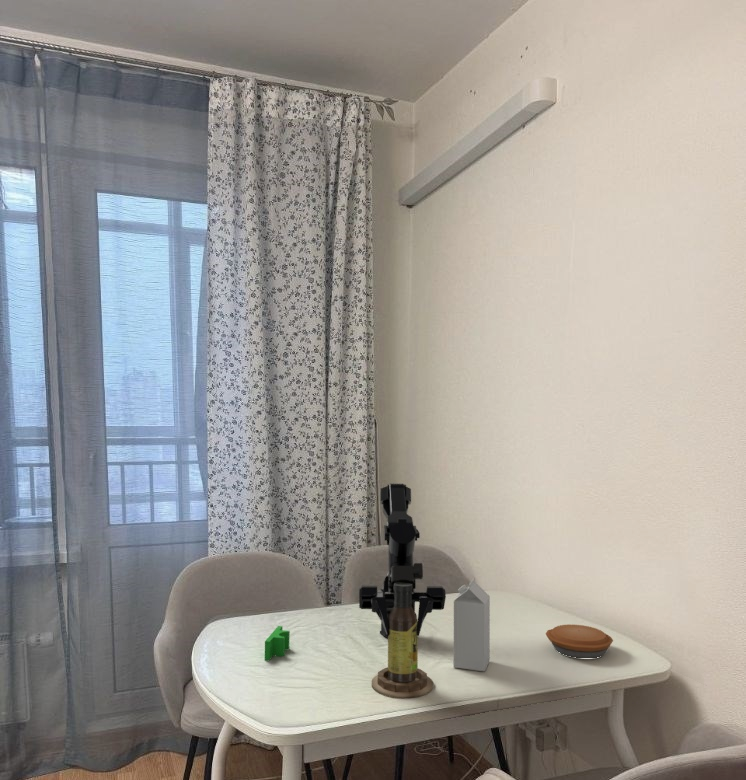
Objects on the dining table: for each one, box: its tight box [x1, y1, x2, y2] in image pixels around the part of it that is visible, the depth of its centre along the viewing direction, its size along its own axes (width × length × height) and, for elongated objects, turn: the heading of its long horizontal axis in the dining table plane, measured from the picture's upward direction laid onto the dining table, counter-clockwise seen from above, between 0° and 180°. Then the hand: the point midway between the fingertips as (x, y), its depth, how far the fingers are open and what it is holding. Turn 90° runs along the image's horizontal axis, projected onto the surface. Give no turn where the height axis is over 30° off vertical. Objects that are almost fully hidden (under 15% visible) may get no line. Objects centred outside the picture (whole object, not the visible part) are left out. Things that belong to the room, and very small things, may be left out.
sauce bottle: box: [387, 582, 419, 683], centre depth 138 cm, size 6×6×20 cm
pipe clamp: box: [264, 625, 291, 661], centre depth 157 cm, size 11×4×5 cm, turn 173°
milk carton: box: [452, 577, 491, 672], centre depth 150 cm, size 7×7×19 cm
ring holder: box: [371, 666, 434, 699], centre depth 138 cm, size 13×13×2 cm
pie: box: [545, 624, 614, 659], centre depth 159 cm, size 15×16×5 cm
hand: (402, 634), depth 137 cm, fingers closed on sauce bottle, 6 cm apart
